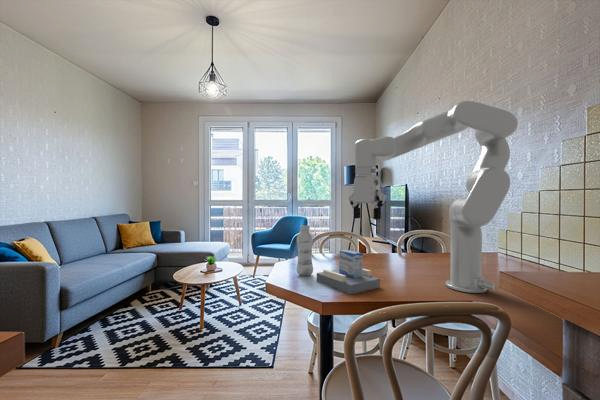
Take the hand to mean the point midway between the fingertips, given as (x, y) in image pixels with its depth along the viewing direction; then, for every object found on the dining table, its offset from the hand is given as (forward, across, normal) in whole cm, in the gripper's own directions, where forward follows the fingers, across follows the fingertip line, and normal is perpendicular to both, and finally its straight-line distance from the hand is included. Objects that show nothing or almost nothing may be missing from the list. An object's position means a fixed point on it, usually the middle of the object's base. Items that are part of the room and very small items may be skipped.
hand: (366, 218), depth 107 cm
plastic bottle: (+23, +21, +14) cm, 34 cm away
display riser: (+23, +2, +9) cm, 25 cm away
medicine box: (+21, +2, +7) cm, 22 cm away
